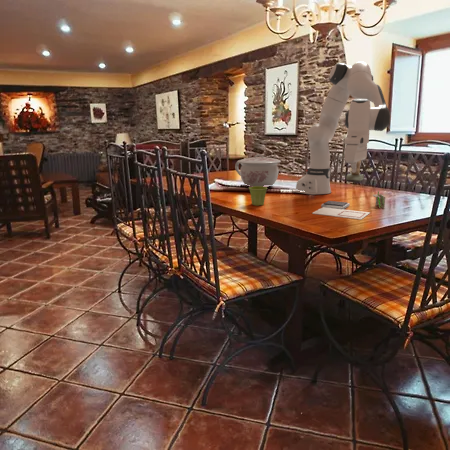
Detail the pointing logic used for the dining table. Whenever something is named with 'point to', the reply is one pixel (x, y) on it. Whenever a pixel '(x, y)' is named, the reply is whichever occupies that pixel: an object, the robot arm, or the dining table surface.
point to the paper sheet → (341, 213)
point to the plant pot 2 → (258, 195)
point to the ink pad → (335, 204)
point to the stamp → (355, 175)
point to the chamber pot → (258, 170)
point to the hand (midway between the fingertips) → (355, 171)
